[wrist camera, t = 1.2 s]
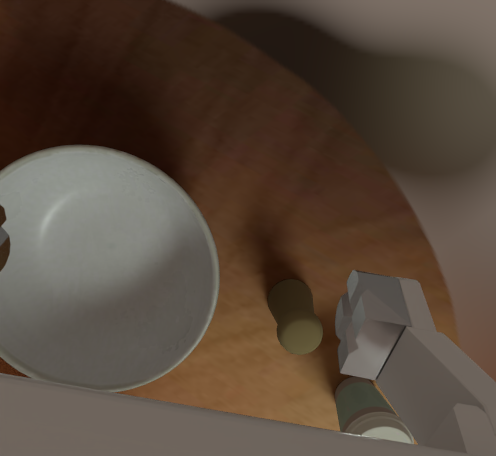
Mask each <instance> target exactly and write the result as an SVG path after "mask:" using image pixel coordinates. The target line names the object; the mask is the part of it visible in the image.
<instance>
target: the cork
mask: <svg viewBox="0 0 496 456" xmlns="http://www.w3.org/2000/svg"><path fill="white" fill-rule="evenodd" d="M268 307H269V309H270V311H271V313H272V315H273V317H274V319H275V320H276V322H277V324H278V326H277V337H278V340H279V342H280V344H281V345H282V346H283V347H284V348H285V349H286V350H287V351H289V352H290V353H292V354H298V355H301V354H307V353H309V352H312V351H313V350H314V349H316V348H317V347H318V345H319V344H320V342H321V340H322V336H323V328H322V324H321V322H320V320H319V318H318V317H317V316H316V315H315V314H314V308H313V298H312V293H311V291H310V289H309V288H308V286H307V285H306V284H305V283H303V282H301V281H299V280H294V279H287V280H283V281H281V282H278V283H277V284H276V285H275V286H274V287H273V288H272V289H271V291H270V292H269V296H268Z"/></svg>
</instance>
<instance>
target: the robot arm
mask: <svg viewBox="0 0 496 456" xmlns="http://www.w3.org/2000/svg"><path fill="white" fill-rule="evenodd" d="M6 220H7V219H6V214H5V209H4V207H3V206H1V205H0V272H1V270H2V269H3V268H4V266H5V265H6V262H7V260H8V257H9V254H10V245H11V244H10V237H9V234H8V233H7V232H6V231H5V230H4V229H3V228H2V227H1V226H2V225H3V224H4V222H5V221H6ZM347 287H348V292H347V293H346V294H344V295H342V296H341V298H340V301H339V304H338V306H337V312H336V317H335V331H336V335H337V337H338V338H339V339H340V340H341V342H340V345H339V347H338V349H337V351H338V360H339V368H340V373H342V374H347V375H352V376H357V377H362V378H367V379H371V380H376V383H377V385H378V386H379V388H380V389H381V391H382V392H383V393H384V395H385V396H386V398H387V399H388V401H389V402H390V404H391V405H392V407H393V408H394V410H395V411H396V412H397V414H398V415H399V417H400V418H401V420H402V421H403V423H404V424H405V426H406V427H407V429H408V430H409V431H410V433H411V434H412V436H413V437H414V439H415V440H416V442H417V443H418V445H415V444H409V443H404V442H398V441H392V440H386V439H380V438H375V437H369V436H363V435H357V434H351V433H345V432H340V431H334V430H328V429H322V428H316V427H311V426H305V425H299V424H293V423H287V422H281V421H276V420H270V419H264V418H258V417H252V416H247V415H241V414H235V413H229V412H223V411H217V410H212V409H206V408H200V407H194V406H188V405H183V404H177V403H171V402H165V401H159V400H153V399H148V398H142V397H136V396H130V395H124V394H119V393H113V392H107V391H101V390H95V389H89V388H84V387H78V386H72V385H66V384H60V383H55V382H49V381H43V380H37V379H31V378H25V377H19V376H14V375H8V374H2V373H0V456H496V382H495V381H494V380H493V379H492V378H490V376H488V375H487V374H486V373H485V372H484V371H483V370H482V369H481V368H480V367H479V366H478V365H477V364H476V363H475V362H473V361H472V360H471V359H470V358H469V357H468V356H467V355H466V354H465V353H464V352H463V351H462V350H461V349H460V348H458V347H457V346H456V345H455V344H454V343H453V342H452V341H451V340H450V339H449V338H448V337H447V336H446V335H445V334H443V333H440V332H437V331H436V328H435V326H434V323H433V320H432V317H431V314H430V311H429V308H428V306H427V303H426V300H425V297H424V294H423V291H422V289H421V286H420V283H419V282H418V281H417V280H412V279H406V278H400V277H390V276H384V275H379V274H373V273H368V272H362V271H357V270H353V271H352V273H351V274H350V276H349V278H348V281H347Z"/></svg>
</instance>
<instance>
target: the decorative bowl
mask: <svg viewBox="0 0 496 456" xmlns="http://www.w3.org/2000/svg"><path fill="white" fill-rule="evenodd" d="M0 205H1V206H3V207H4V209H5V214H6V219H7V220H6V221H5V222H4V224H3V225H2V226H1V227H2V228H3V229H4V230H5V231H6V232H7V233H8V234H9V237H10V244H11V245H10V254H9V257H8V260H7V262H6V265H5V266H4V268H3V269H2V270H1V272H0V357H1V358H2V359H3V360H5V361H6V362H7V363H8V364H10V365H11V366H12V367H14V368H15V369H17V370H18V371H20V372H21V373H23V374H25V375H27V376H29V377H30V378H32V379H37V380H43V381H49V382H55V383H60V384H66V385H72V386H78V387H84V388H89V389H95V390H101V391H107V392H119V391H125V390H129V389H132V388H136V387H139V386H142V385H145V384H147V383H149V382H152V381H154V380H156V379H158V378H160V377H161V376H163V375H165V374H166V373H168V372H169V371H171V370H172V369H174V368H175V367H176V366H177V365H179V364H180V363H181V362H182V361H183V360H184V359H185V358H186V357H187V356H188V355H189V354H190V353H191V352H192V351H193V350H194V348H195V347H196V346H197V344H198V343H199V342H200V340H201V339H202V337H203V335H204V334H205V332H206V330H207V328H208V326H209V324H210V322H211V319H212V317H213V314H214V311H215V308H216V304H217V299H218V293H219V280H220V274H219V261H218V255H217V250H216V246H215V243H214V239H213V236H212V234H211V231H210V229H209V226H208V224H207V222H206V220H205V218H204V217H203V215H202V213H201V211H200V210H199V208H198V207H197V205H196V204H195V202H194V201H193V200H192V199H191V197H190V196H189V195H188V194H187V193H186V192H185V190H184V189H183V188H182V187H181V186H180V185H179V184H178V183H176V182H175V181H174V180H173V179H172V178H171V177H169V176H168V175H167V174H166V173H164V172H163V171H161V170H160V169H158V168H157V167H155V166H154V165H152V164H150V163H148V162H147V161H145V160H143V159H140V158H138V157H136V156H134V155H131V154H128V153H126V152H123V151H119V150H116V149H112V148H107V147H101V146H94V145H66V146H57V147H52V148H47V149H44V150H40V151H37V152H34V153H31V154H29V155H26V156H24V157H22V158H20V159H18V160H16V161H14V162H13V163H11V164H9V165H8V166H6V167H5V168H3V169H2V170H1V171H0Z"/></svg>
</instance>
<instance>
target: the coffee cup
mask: <svg viewBox="0 0 496 456" xmlns="http://www.w3.org/2000/svg"><path fill="white" fill-rule="evenodd" d="M335 402H336V408H337V414H338V420H339V426H340V431H341V432H345V433H351V434H357V435H363V436H369V437H375V438H380V439H386V440H392V441H398V442H404V443H409V444H414V441H413V436H412V434H411V433H410V431H409V430H408V429H407V427H406V426H405V424H404V423H403V421H402V420H401V418H400V417H398V416H397V415H396V413H395V412H394V411H393V409H392V408H391V407H390V405H389V404H388V403H387V402H386V400H385V399H384V398H383V396H382V395H381V394H380V393H379V391H378V390H377V389H376V388H375V386H374V385H373V384H372V383H371V382H370V381H369V380H368V379H366V378H362V377H350V378H347V379H345V380H344V381H342V382H341V383H340V384H339V386H338V387H337V389H336V392H335Z"/></svg>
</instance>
